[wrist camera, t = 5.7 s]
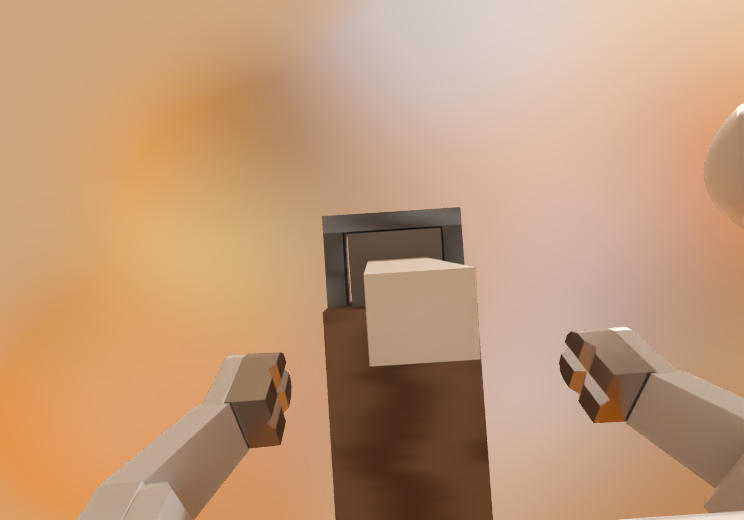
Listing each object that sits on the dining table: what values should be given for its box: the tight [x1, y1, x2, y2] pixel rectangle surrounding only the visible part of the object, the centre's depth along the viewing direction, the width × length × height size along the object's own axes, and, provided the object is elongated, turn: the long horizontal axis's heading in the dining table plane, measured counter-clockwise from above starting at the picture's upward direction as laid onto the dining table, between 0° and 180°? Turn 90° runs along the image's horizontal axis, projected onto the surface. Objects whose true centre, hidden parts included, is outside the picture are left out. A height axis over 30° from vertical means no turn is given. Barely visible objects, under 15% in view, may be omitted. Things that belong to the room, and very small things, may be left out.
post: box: [322, 207, 493, 520], centre depth 19 cm, size 8×5×31 cm, turn 90°
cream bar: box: [348, 228, 480, 366], centre depth 15 cm, size 5×13×4 cm, turn 0°
